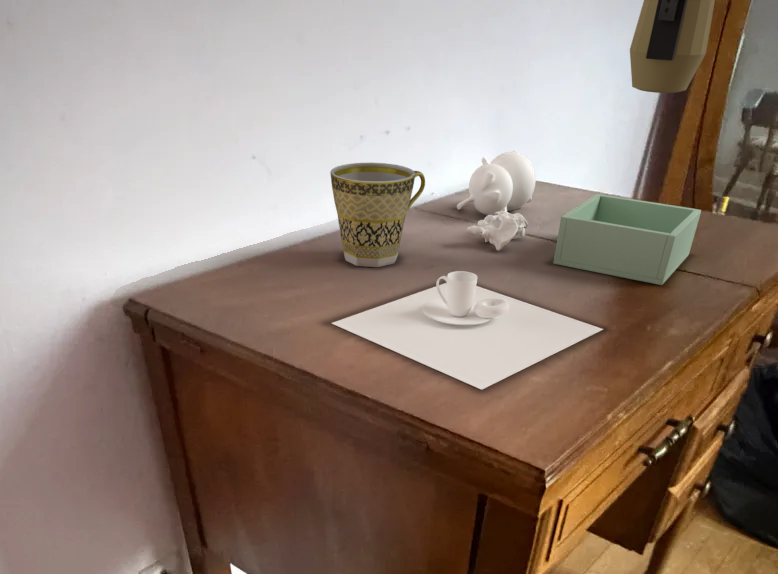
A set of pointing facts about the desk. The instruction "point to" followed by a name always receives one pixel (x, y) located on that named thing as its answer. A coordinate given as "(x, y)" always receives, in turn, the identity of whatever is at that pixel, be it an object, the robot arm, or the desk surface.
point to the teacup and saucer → (468, 330)
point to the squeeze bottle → (687, 55)
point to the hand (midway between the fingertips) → (669, 55)
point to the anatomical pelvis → (500, 228)
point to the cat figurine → (501, 184)
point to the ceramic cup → (373, 209)
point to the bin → (626, 237)
